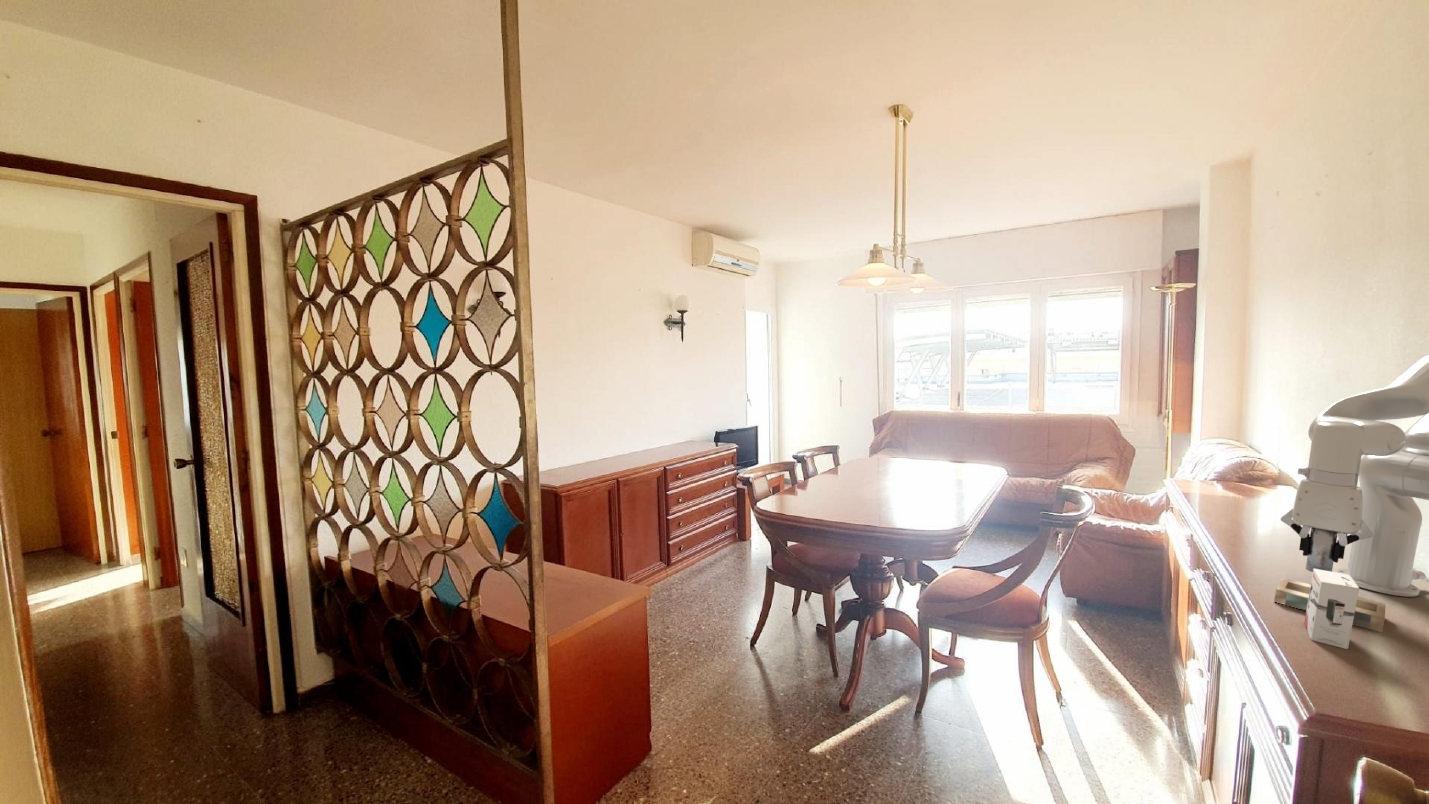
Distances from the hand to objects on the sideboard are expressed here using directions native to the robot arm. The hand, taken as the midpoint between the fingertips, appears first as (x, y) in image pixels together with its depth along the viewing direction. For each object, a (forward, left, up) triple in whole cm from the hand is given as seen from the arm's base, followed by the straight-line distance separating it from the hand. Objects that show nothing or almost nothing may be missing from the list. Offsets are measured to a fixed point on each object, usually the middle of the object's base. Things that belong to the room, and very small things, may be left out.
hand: (1320, 556), depth 125 cm
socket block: (+8, +8, -8) cm, 14 cm away
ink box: (+21, +18, -8) cm, 29 cm away
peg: (0, 0, -3) cm, 3 cm away
